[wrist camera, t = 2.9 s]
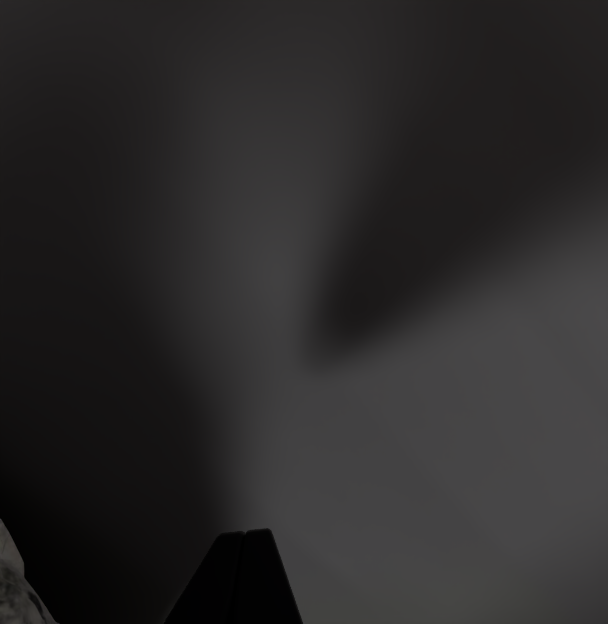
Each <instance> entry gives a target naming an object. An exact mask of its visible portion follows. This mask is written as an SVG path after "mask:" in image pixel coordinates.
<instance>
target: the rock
mask: <svg viewBox="0 0 608 624" xmlns="http://www.w3.org/2000/svg"><path fill="white" fill-rule="evenodd" d="M0 624H59V623H57V622H55V620H54V619H53V617H52V616H51V614H50V613H49V611H48V610H47V608H46V606H45V605H44V603H43V602H42V600H41V599H40V598H39V596H38V595H37V594H36V592H35V591H34V590H33V588H32V587H31V586H30V584H29V583H28V582H27V580H26V579H25V578H24V562H23V560H22V557H21V555H20V553H19V551H18V549H17V547H16V545H15V543H14V541H13V539H12V537H11V535H10V534H9V532H8V530H7V528H6V527H5V525H4V523H3V521H2V520H1V518H0Z"/></svg>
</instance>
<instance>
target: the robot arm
mask: <svg viewBox="0 0 608 624" xmlns="http://www.w3.org/2000/svg"><path fill="white" fill-rule="evenodd" d="M164 624H303V622H302V619H301V616H300V613H299V610H298V607H297V604H296V601H295V598H294V595H293V592H292V589H291V587H290V584H289V581H288V578H287V575H286V572H285V569H284V566H283V563H282V560H281V557H280V554H279V551H278V548H277V545H276V542H275V540H274V537H273V534H272V531H271V530H270V529H268V528H266V529H256V530H249V531H247V532H246V534H245V533H244V532H242V531H237V532H227V533H222V534H220V535H219V536H218V537H217V538H216V540H215V541H214V543H213V544H212V546H211V548H210V549H209V551H208V553H207V554H206V556H205V557H204V559H203V561H202V562H201V564H200V565H199V567H198V569H197V570H196V572H195V574H194V575H193V577H192V578H191V580H190V582H189V583H188V585H187V586H186V588H185V590H184V591H183V593H182V595H181V596H180V598H179V599H178V601H177V603H176V604H175V606H174V607H173V609H172V611H171V612H170V614H169V615H168V617H167V619H166V620H165V622H164Z"/></svg>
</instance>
